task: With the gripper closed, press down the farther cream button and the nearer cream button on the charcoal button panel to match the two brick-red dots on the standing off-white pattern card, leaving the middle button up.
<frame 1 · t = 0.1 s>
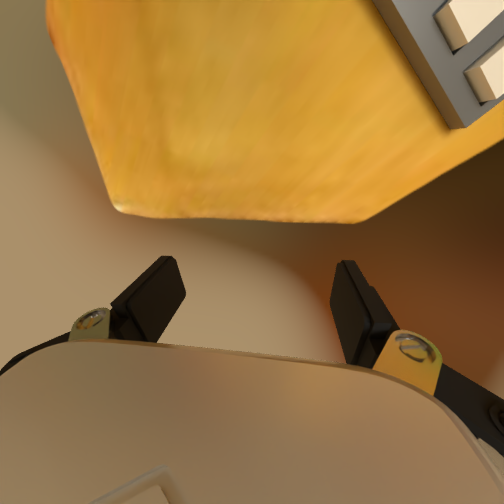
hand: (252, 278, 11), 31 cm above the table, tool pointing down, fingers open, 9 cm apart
button panel: (450, 22, 24), on the table
middle button: (472, 6, 22), point 3 cm above the table, slide at 0.0 cm
button 2: (501, 67, 24), point 3 cm above the table, slide at 0.0 cm
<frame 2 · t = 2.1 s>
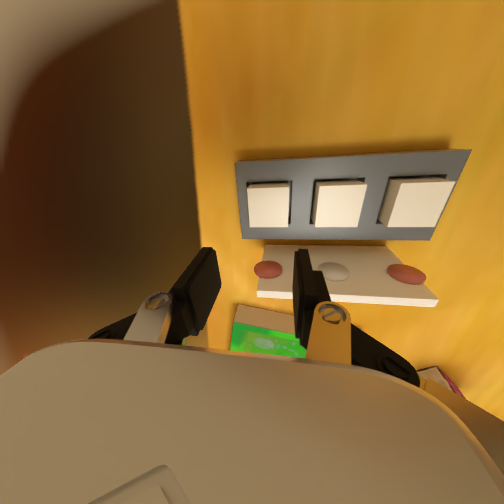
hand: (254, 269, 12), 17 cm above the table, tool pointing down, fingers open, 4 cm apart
button panel: (329, 196, 25), on the table
button 1: (410, 202, 21), point 3 cm above the table, slide at 0.0 cm
middle button: (335, 203, 22), point 3 cm above the table, slide at 0.0 cm
candy bar box: (435, 378, 42), on the table
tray: (285, 348, 45), on the table
button 2: (269, 205, 24), point 3 cm above the table, slide at 0.0 cm
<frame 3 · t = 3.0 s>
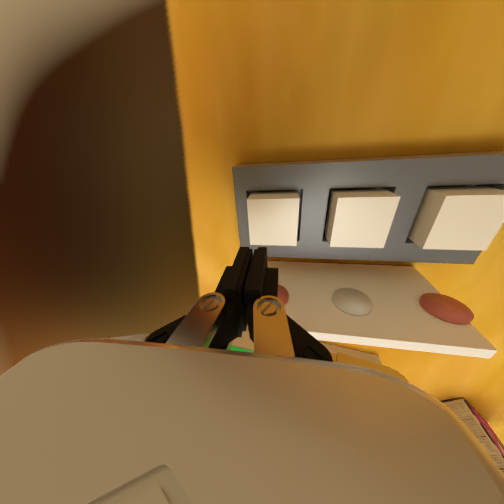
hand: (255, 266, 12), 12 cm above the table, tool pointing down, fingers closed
button panel: (347, 207, 21), on the table
button 1: (453, 218, 17), point 3 cm above the table, slide at 0.0 cm
middle button: (356, 218, 18), point 3 cm above the table, slide at 0.0 cm
candy bar box: (460, 410, 37), on the table
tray: (289, 370, 40), on the table
button 2: (273, 218, 19), point 3 cm above the table, slide at 0.0 cm
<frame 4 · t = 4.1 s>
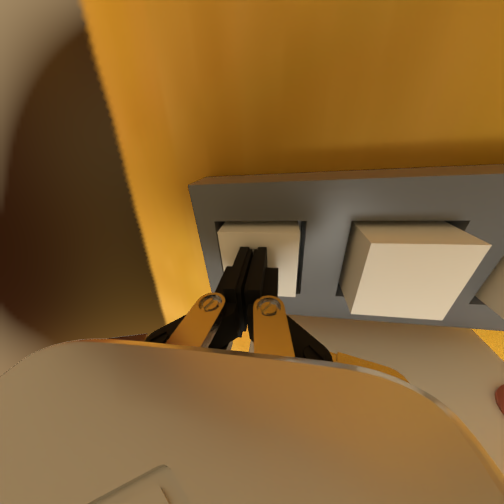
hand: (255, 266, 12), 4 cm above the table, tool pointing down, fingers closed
button panel: (372, 241, 14), on the table
middle button: (395, 268, 11), point 3 cm above the table, slide at 0.0 cm
button 2: (261, 254, 13), point 2 cm above the table, slide at 1.1 cm, touching gripper
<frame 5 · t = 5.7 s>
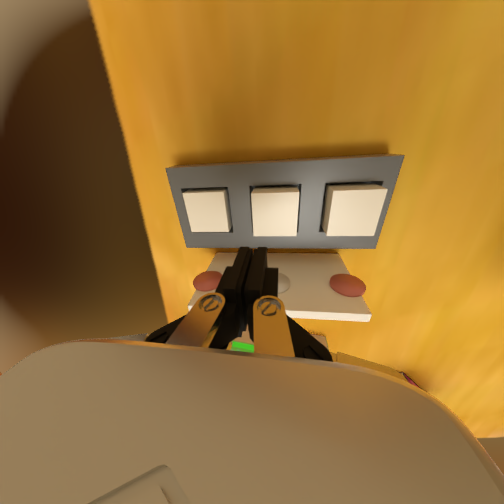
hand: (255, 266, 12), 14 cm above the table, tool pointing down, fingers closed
button panel: (275, 202, 24), on the table
button 1: (349, 209, 20), point 3 cm above the table, slide at 0.0 cm
middle button: (274, 211, 21), point 3 cm above the table, slide at 0.0 cm
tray: (253, 356, 43), on the table
button 2: (210, 209, 23), point 2 cm above the table, slide at 1.3 cm
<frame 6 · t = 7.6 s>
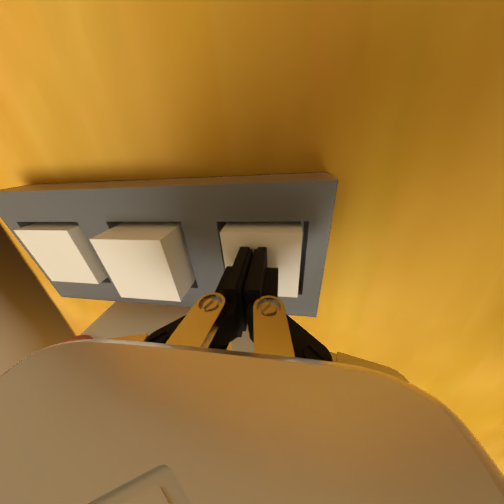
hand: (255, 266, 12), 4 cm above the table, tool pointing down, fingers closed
button panel: (175, 239, 16), on the table
button 1: (263, 255, 13), point 2 cm above the table, slide at 1.2 cm, touching gripper
middle button: (151, 260, 14), point 3 cm above the table, slide at 0.0 cm
button 2: (76, 249, 16), point 2 cm above the table, slide at 1.3 cm
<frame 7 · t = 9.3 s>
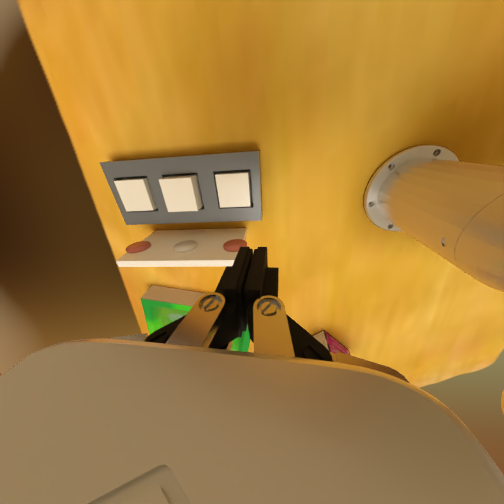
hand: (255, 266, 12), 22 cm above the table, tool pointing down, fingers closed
button panel: (190, 188, 32), on the table
button 1: (235, 188, 29), point 2 cm above the table, slide at 1.3 cm
middle button: (182, 193, 29), point 3 cm above the table, slide at 0.0 cm
candy bar box: (328, 342, 50), on the table
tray: (205, 324, 51), on the table
button 2: (139, 193, 31), point 2 cm above the table, slide at 1.3 cm
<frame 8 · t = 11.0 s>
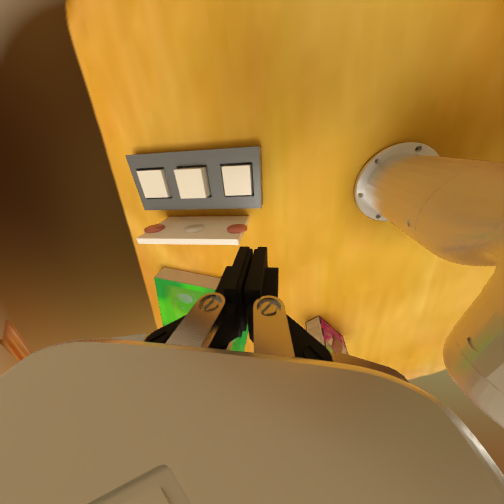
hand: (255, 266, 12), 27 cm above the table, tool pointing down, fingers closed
button panel: (200, 179, 37), on the table
button 1: (238, 179, 33), point 2 cm above the table, slide at 1.3 cm
middle button: (193, 182, 34), point 3 cm above the table, slide at 0.0 cm
candy bar box: (324, 328, 53), on the table
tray: (210, 307, 56), on the table
button 2: (157, 183, 36), point 2 cm above the table, slide at 1.3 cm
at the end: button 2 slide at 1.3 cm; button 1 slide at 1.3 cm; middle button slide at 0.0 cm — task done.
